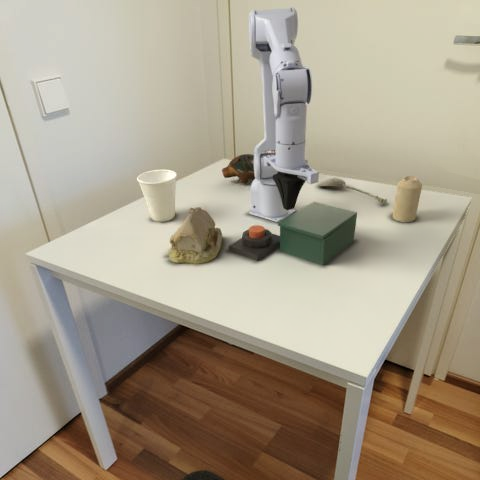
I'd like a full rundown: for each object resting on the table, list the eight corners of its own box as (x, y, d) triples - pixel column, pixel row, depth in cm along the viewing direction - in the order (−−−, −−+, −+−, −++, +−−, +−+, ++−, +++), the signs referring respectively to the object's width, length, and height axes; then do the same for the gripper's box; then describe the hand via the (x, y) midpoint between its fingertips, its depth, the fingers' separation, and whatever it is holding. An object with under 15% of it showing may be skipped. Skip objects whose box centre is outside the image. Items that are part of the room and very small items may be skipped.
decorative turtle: (276, 183, 135) (275, 156, 129) (226, 191, 133) (223, 165, 128) (268, 170, 142) (267, 145, 137) (221, 179, 141) (218, 153, 136)
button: (245, 236, 101) (245, 229, 100) (255, 230, 103) (255, 223, 102) (258, 241, 99) (258, 233, 98) (268, 234, 101) (268, 227, 100)
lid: (322, 239, 91) (322, 235, 90) (277, 225, 96) (277, 222, 96) (356, 215, 99) (357, 212, 99) (313, 204, 105) (314, 201, 105)
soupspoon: (330, 183, 135) (314, 190, 132) (330, 172, 133) (314, 179, 130) (392, 201, 120) (376, 209, 117) (393, 189, 118) (377, 197, 115)
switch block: (229, 251, 102) (228, 238, 100) (257, 234, 108) (257, 221, 106) (256, 261, 98) (256, 248, 96) (284, 242, 104) (284, 230, 102)
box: (322, 265, 95) (324, 238, 91) (279, 251, 101) (279, 225, 97) (353, 241, 103) (356, 215, 99) (312, 229, 109) (313, 204, 105)
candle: (416, 222, 109) (424, 182, 103) (392, 221, 110) (399, 181, 104) (414, 213, 114) (422, 174, 108) (391, 212, 115) (398, 173, 109)
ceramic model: (208, 268, 96) (203, 224, 90) (161, 261, 99) (154, 219, 93) (230, 238, 107) (227, 198, 101) (187, 233, 110) (182, 194, 104)
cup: (137, 222, 117) (129, 180, 110) (156, 208, 124) (150, 167, 117) (170, 227, 113) (164, 184, 107) (188, 212, 121) (183, 171, 114)
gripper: (332, 144, 83) (327, 213, 91) (282, 129, 93) (282, 193, 101) (303, 152, 80) (300, 223, 88) (255, 136, 90) (256, 201, 98)
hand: (289, 208), depth 94 cm, fingers closed
